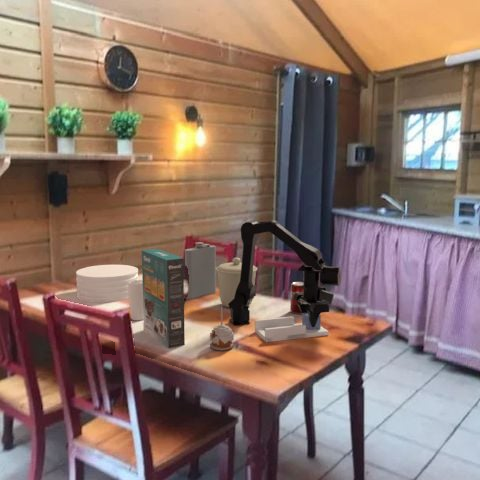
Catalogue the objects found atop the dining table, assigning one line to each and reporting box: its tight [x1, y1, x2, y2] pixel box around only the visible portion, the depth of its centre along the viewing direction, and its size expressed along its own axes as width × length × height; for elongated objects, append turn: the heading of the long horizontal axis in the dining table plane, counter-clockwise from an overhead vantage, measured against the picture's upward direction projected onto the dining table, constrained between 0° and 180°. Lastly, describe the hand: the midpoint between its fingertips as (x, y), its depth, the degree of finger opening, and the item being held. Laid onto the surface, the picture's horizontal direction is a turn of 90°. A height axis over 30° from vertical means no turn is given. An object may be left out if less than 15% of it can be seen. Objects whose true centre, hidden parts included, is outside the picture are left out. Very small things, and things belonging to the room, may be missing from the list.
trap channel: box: [254, 316, 329, 343], centre depth 187 cm, size 24×11×4 cm, turn 108°
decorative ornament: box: [209, 303, 235, 351], centre depth 172 cm, size 8×8×15 cm
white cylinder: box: [128, 279, 144, 322], centre depth 202 cm, size 7×7×15 cm
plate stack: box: [75, 264, 139, 303], centre depth 240 cm, size 28×28×12 cm
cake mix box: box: [141, 248, 186, 349], centre depth 180 cm, size 22×6×30 cm, turn 32°
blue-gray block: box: [301, 312, 322, 330], centre depth 189 cm, size 5×5×5 cm
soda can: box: [290, 281, 303, 315], centre depth 213 cm, size 7×7×12 cm
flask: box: [184, 241, 217, 300], centre depth 237 cm, size 17×5×25 cm, turn 137°
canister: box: [215, 257, 258, 309], centre depth 221 cm, size 18×18×21 cm
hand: (310, 324), depth 189 cm, fingers closed on blue-gray block, 5 cm apart
